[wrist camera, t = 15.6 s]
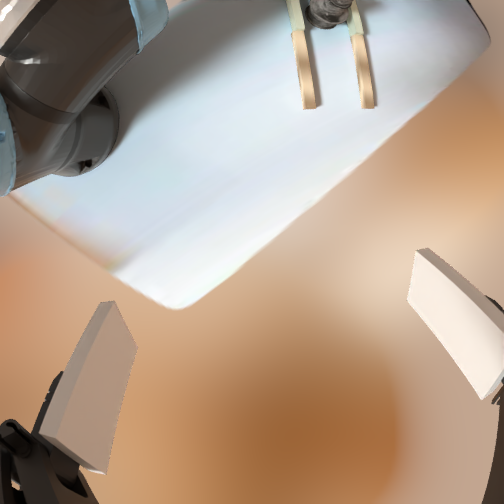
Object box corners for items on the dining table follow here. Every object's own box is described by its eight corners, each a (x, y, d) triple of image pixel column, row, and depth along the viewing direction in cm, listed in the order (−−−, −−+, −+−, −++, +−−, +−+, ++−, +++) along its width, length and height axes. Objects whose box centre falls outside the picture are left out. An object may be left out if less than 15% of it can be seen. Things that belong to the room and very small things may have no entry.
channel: (369, 108, 35) (374, 108, 34) (303, 109, 35) (306, 108, 33) (358, 37, 29) (362, 35, 28) (291, 33, 29) (293, 30, 28)
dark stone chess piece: (323, -4, 26) (353, -36, 15) (347, 23, 28) (384, -3, 18) (295, 9, 27) (319, -26, 16) (320, 36, 30) (352, 9, 19)
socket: (356, 37, 29) (363, 33, 27) (292, 33, 29) (296, 28, 27) (345, -6, 25) (351, -12, 23) (283, -11, 25) (286, -18, 23)
